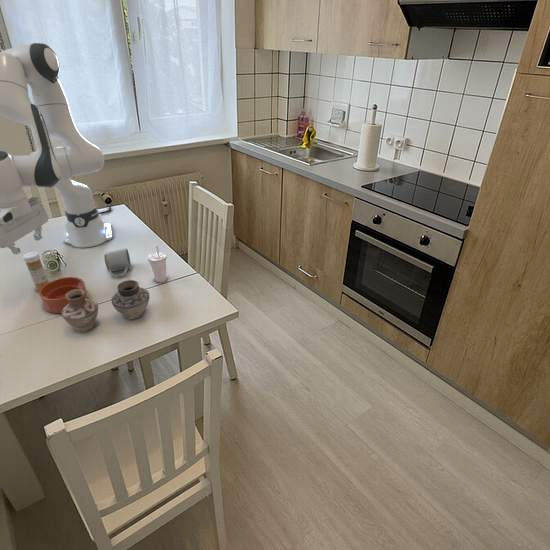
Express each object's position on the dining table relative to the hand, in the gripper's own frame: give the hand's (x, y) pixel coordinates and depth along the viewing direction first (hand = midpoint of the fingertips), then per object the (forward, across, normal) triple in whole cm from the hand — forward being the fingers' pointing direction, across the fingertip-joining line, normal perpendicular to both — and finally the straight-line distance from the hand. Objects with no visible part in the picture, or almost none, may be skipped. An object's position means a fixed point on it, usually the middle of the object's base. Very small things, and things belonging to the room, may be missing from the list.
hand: (28, 246), depth 128 cm
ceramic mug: (+16, -16, +20) cm, 31 cm away
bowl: (+16, +6, +14) cm, 22 cm away
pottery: (+16, +10, +33) cm, 38 cm away
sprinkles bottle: (+16, +1, +1) cm, 16 cm away
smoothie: (+16, -14, +38) cm, 43 cm away
